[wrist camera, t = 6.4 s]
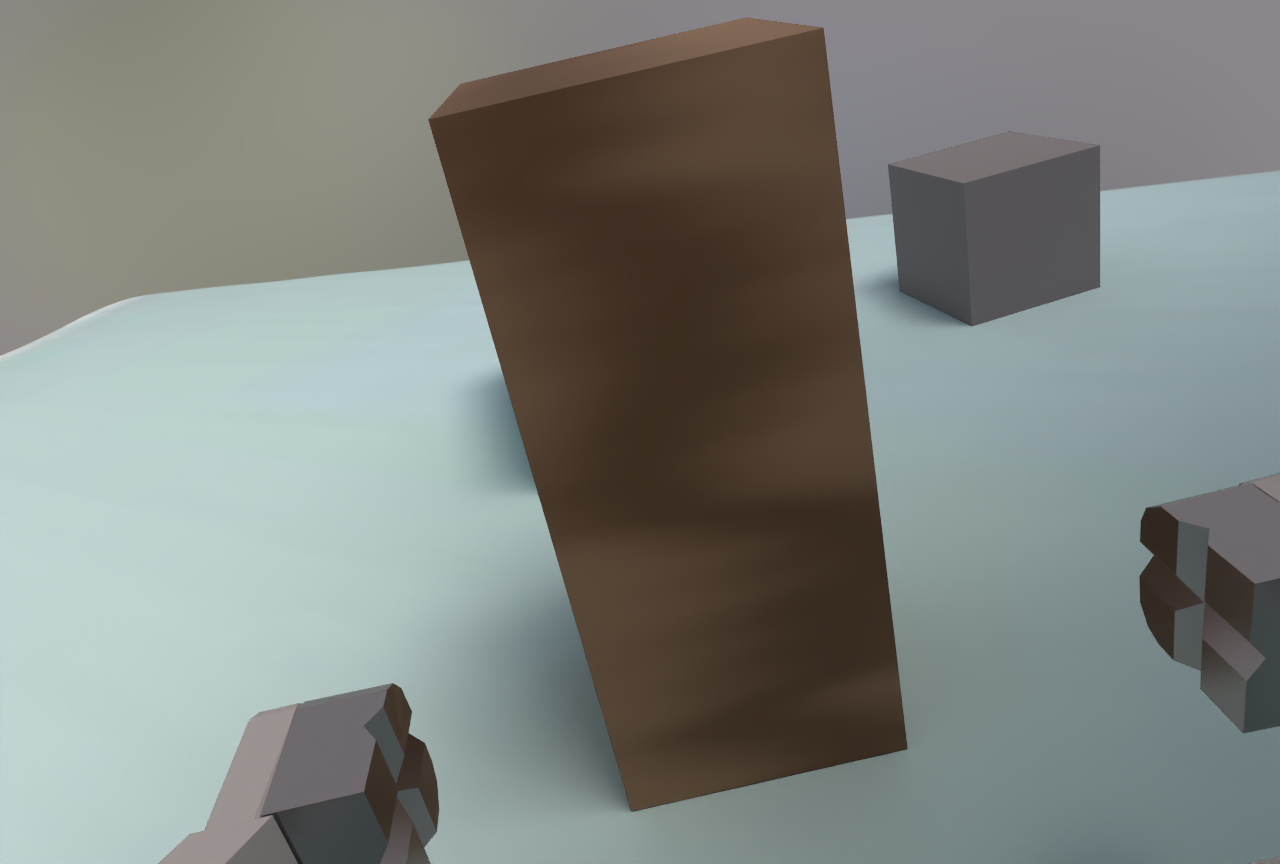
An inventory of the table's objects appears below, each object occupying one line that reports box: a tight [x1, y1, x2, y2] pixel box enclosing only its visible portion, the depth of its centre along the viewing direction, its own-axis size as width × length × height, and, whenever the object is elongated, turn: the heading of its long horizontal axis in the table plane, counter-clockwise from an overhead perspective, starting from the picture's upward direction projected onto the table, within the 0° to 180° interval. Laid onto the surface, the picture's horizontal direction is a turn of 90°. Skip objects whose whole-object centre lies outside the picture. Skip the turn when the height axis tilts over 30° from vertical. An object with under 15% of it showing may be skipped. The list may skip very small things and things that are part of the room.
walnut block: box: [429, 18, 907, 811], centre depth 17 cm, size 5×5×12 cm
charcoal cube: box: [888, 131, 1100, 326], centre depth 34 cm, size 5×5×5 cm
